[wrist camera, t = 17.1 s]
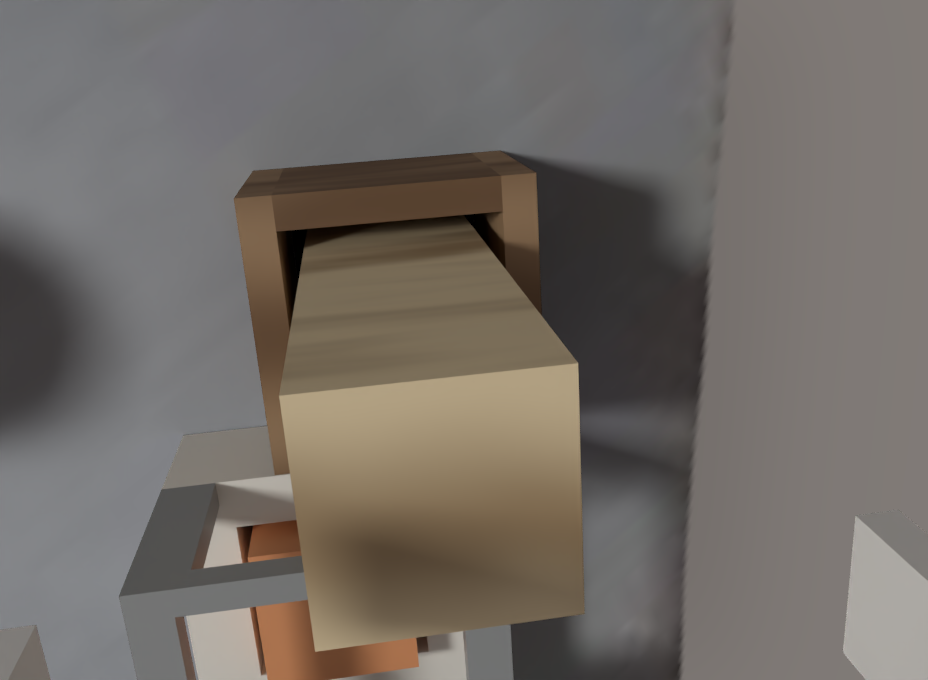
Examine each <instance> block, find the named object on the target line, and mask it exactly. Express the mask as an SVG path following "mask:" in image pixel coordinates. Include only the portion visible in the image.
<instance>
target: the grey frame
mask: <svg viewBox="0 0 928 680" xmlns="http://www.w3.org/2000/svg"><path fill="white" fill-rule="evenodd" d="M292 520H296V512H295V505H294V498H293V491H292V484H291V477H290V474H282V475H275V474H274V467H273V460H272V454H271V447H270V440H269V433H268V426H263V427H254V428H245V429H236V430H227V431H218V432H209V433H201V434H192V435H183V437H182V440H181V442H180V445H179V447H178V450H177V452H176V455H175V457H174V460H173V462H172V465H171V467H170V470H169V472H168V475H167V477H166V480H165V482H164V485H163V487H162V490H161V492H160V495H159V497H158V500H157V502H156V505H155V507H154V510H153V512H152V515H151V517H150V520H149V522H148V525H147V527H146V530H145V532H144V535H143V537H142V540H141V542H140V545H139V547H138V550H137V552H136V555H135V557H134V560H133V562H132V565H131V567H130V570H129V572H128V575H127V577H126V580H125V582H124V585H123V587H122V590H121V592H120V595H119V600H120V604H121V609H122V613H123V618H124V622H125V627H126V631H127V636H128V640H129V645H130V649H131V654H132V659H133V663H134V668H135V672H136V677H137V680H196V678H195V672H194V667H193V662H192V657H191V652H190V647H189V642H188V637H187V632H186V626H185V621H184V616H186V617H187V622H188V627H189V632H190V638H191V643H192V648H193V653H194V658H195V663H196V668H197V674H198V679H199V680H268V679H267V673H266V667H265V661H264V655H263V648H262V642H261V636H260V630H259V624H258V618H257V612H256V607H257V606H265V605H272V604H280V603H287V602H295V601H302V600H308V597H307V590H306V583H305V576H304V569H303V562H302V556H295V557H287V558H279V559H271V560H264V561H256V562H248V552H249V547H250V541H251V535H252V530H253V525H259V524H268V523H276V522H284V521H292ZM416 641H417V651H418V661H419V667H414V668H407V669H400V670H393V671H387V672H380V673H373V674H366V675H359V676H352V677H345V678H338V679H331V680H514V679H513V662H512V644H511V626H510V625H503V626H496V627H488V628H481V629H474V630H467V631H460V632H453V633H446V634H439V635H432V636H425V637H417V638H416Z"/></svg>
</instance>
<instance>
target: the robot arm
mask: <svg viewBox="0 0 928 680" xmlns="http://www.w3.org/2000/svg"><path fill="white" fill-rule="evenodd" d="M847 605H848V606H847V614H846V625H845V636H844V647H843V653H844V654H845V655H846V657H847V658H848V659H849V660H850V661H851V663H852V664H853V665H854V666H855V667H856V669H857V670H858V671H859V672H860V673H861V675H862V676H863V677H864V678H865V679H866V680H928V534H927V533H926V532H925V531H924V530H922V529H921V528H920V527H919V526H917V525H916V524H915V523H914V522H913V521H911V520H910V519H909V518H908V517H907V516H905V515H904V514H903V513H902V512H901V511H899V510H894V511H887V512H878V513H871V514H863V515H856V517H855V528H854V539H853V550H852V560H851V571H850V582H849V593H848V604H847ZM0 680H50V676H49V672H48V668H47V664H46V661H45V657H44V653H43V649H42V646H41V642H40V638H39V634H38V630H37V627H36V625H32V626H25V627H17V628H10V629H2V630H0Z"/></svg>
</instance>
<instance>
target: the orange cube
mask: <svg viewBox="0 0 928 680" xmlns="http://www.w3.org/2000/svg"><path fill="white" fill-rule="evenodd" d="M295 556H302V555H301V548H300V541H299V534H298V527H297V520H292V521H284V522H276V523H268V524H259V525H253V530H252V535H251V541H250V547H249V552H248V562H256V561H264V560H271V559H279V558H287V557H295ZM256 612H257V618H258V624H259V630H260V636H261V642H262V648H263V655H264V661H265V667H266V673H267V679H268V680H331V679H338V678H345V677H352V676H359V675H366V674H373V673H380V672H387V671H393V670H400V669H407V668H414V667H419V661H418V651H417V641H416V638H410V639H403V640H396V641H389V642H382V643H375V644H368V645H361V646H353V647H346V648H339V649H332V650H325V651H318V652H315V647H314V640H313V633H312V626H311V619H310V611H309V604H308V600H302V601H295V602H287V603H280V604H272V605H265V606H257V607H256Z"/></svg>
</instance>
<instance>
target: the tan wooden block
mask: <svg viewBox="0 0 928 680" xmlns="http://www.w3.org/2000/svg"><path fill="white" fill-rule="evenodd" d="M279 399H280V406H281V414H282V421H283V428H284V435H285V442H286V449H287V456H288V463H289V470H290V477H291V484H292V491H293V498H294V505H295V512H296V520H297V527H298V534H299V541H300V548H301V555H302V562H303V569H304V576H305V583H306V590H307V597H308V604H309V611H310V619H311V626H312V633H313V640H314V647H315V652H318V651H325V650H332V649H339V648H346V647H353V646H361V645H368V644H375V643H382V642H389V641H396V640H403V639H410V638H417V637H425V636H432V635H439V634H446V633H453V632H460V631H467V630H474V629H481V628H488V627H496V626H503V625H510V624H517V623H524V622H531V621H538V620H545V619H552V618H559V617H567V616H574V615H581V614H585V613H584V573H583V533H582V493H581V453H580V413H579V373H578V362H577V361H576V360H575V358H574V357H573V356H572V354H571V353H570V352H569V351H568V349H567V348H566V347H565V345H564V344H563V343H562V342H561V340H560V339H559V338H558V336H557V335H556V334H555V332H554V331H553V330H552V329H551V327H550V326H549V325H548V323H547V322H546V321H545V320H544V318H543V317H542V316H541V314H540V313H539V312H538V311H537V309H536V308H535V307H534V305H533V304H532V303H531V301H530V300H529V299H528V298H527V296H526V295H525V294H524V292H523V291H522V290H521V289H520V287H519V286H518V285H517V283H516V282H515V281H514V279H513V278H512V277H511V276H510V274H509V273H508V272H507V270H506V269H505V268H504V267H503V265H502V264H501V263H500V261H499V260H498V259H497V257H496V256H495V255H494V254H493V252H492V251H491V250H490V248H489V247H488V246H487V245H486V243H485V242H484V241H483V239H482V238H481V237H480V236H479V234H478V233H477V232H476V230H475V229H474V228H473V226H472V225H471V224H470V223H469V221H468V220H467V219H466V217H465V216H464V215H456V216H445V217H434V218H423V219H412V220H401V221H389V222H378V223H367V224H356V225H345V226H333V227H322V228H311V229H307V233H306V239H305V245H304V251H303V257H302V263H301V269H300V275H299V280H298V286H297V292H296V298H295V304H294V310H293V316H292V322H291V328H290V334H289V340H288V346H287V352H286V357H285V363H284V369H283V375H282V381H281V387H280V393H279Z"/></svg>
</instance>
